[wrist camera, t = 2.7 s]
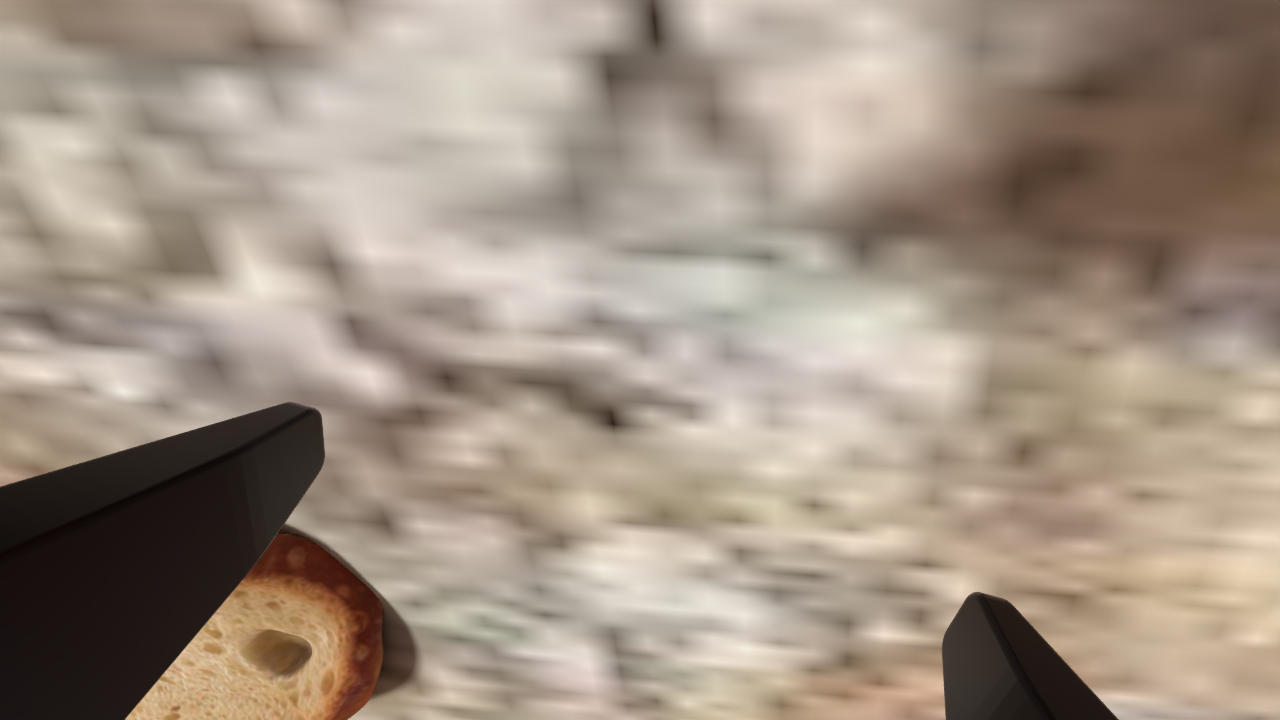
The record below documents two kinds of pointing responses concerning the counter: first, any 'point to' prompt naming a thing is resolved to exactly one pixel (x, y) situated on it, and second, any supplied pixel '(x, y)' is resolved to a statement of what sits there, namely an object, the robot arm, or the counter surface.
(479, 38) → the counter surface
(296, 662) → the slice of bread
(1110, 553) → the counter surface
